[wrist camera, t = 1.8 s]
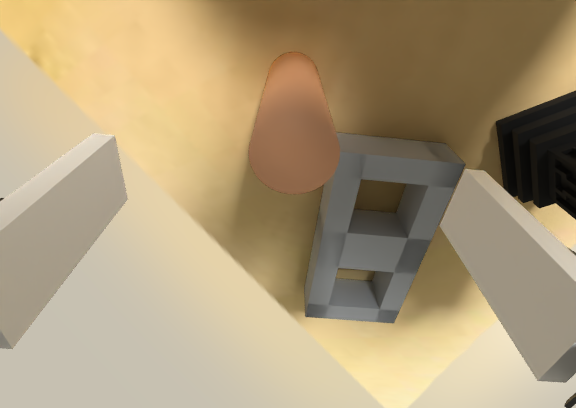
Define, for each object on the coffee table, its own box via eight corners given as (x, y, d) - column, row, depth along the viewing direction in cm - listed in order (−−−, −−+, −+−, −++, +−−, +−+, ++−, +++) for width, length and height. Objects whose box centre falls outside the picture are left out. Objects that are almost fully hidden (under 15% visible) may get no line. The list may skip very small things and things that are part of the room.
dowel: (270, 49, 25) (250, 105, 13) (322, 55, 25) (348, 115, 13) (266, 101, 27) (247, 190, 15) (314, 106, 27) (331, 197, 16)
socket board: (333, 132, 28) (339, 151, 25) (445, 143, 29) (465, 163, 25) (304, 288, 39) (305, 316, 36) (385, 295, 40) (393, 323, 37)
